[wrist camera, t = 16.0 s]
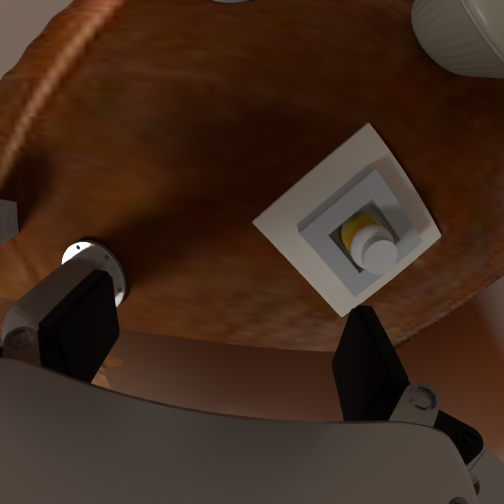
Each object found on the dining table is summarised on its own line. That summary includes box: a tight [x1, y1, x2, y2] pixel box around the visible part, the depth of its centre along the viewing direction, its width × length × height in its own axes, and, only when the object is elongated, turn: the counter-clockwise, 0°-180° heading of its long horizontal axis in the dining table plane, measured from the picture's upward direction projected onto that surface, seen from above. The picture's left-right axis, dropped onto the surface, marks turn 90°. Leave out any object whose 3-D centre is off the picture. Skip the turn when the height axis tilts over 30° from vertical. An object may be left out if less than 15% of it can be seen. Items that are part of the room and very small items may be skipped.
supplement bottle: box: [339, 211, 398, 275], centre depth 33 cm, size 5×5×10 cm
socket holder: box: [252, 123, 441, 317], centre depth 36 cm, size 20×20×4 cm
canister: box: [411, 0, 504, 78], centre depth 16 cm, size 18×18×21 cm
